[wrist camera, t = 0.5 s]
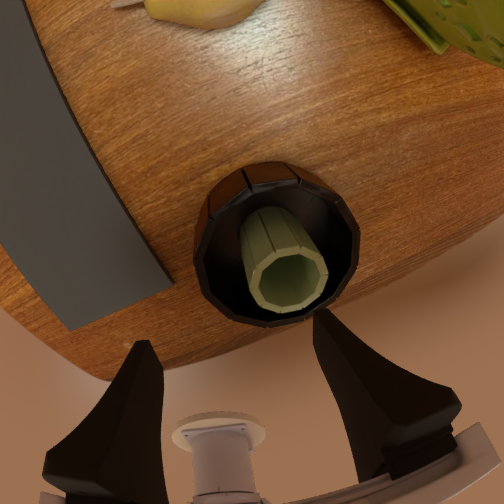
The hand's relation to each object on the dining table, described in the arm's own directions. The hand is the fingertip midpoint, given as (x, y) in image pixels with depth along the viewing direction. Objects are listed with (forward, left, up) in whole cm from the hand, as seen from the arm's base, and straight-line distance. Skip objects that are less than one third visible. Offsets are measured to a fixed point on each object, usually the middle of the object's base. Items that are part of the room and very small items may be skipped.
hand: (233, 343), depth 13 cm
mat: (+28, +20, -11) cm, 36 cm away
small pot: (-1, -3, -10) cm, 11 cm away
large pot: (-1, -3, -11) cm, 11 cm away
